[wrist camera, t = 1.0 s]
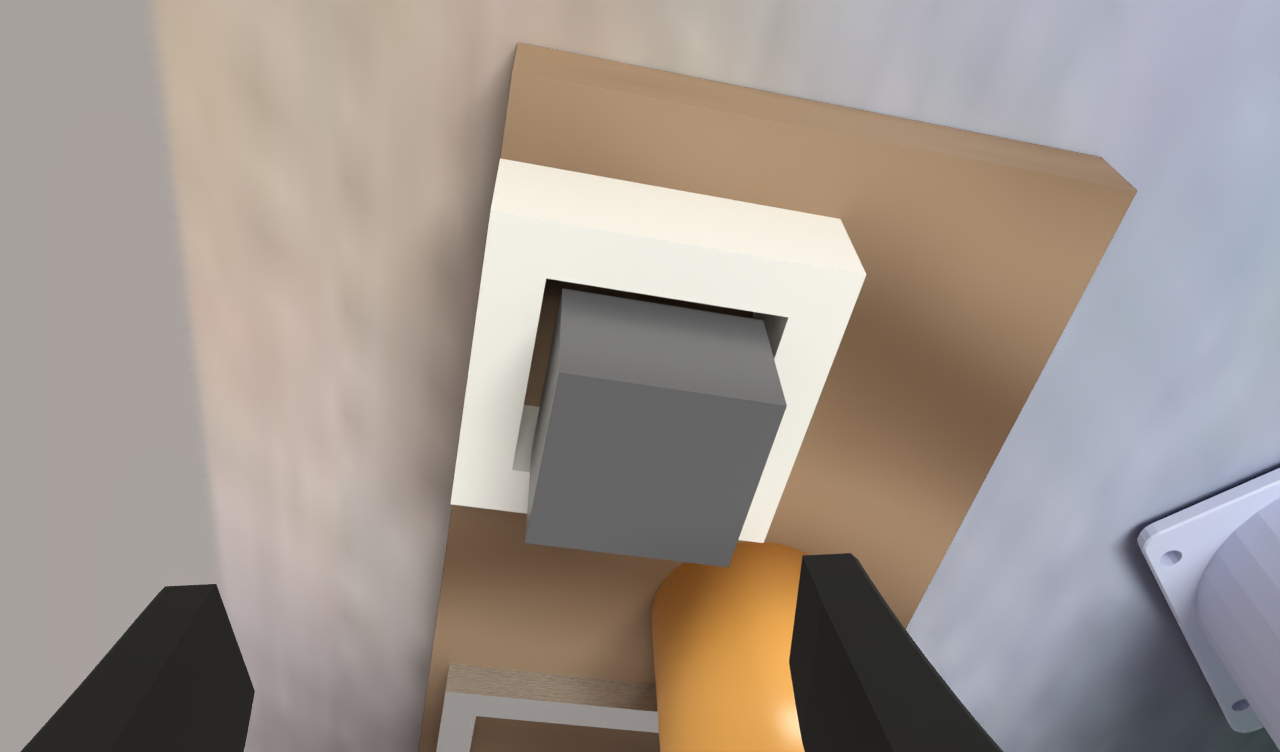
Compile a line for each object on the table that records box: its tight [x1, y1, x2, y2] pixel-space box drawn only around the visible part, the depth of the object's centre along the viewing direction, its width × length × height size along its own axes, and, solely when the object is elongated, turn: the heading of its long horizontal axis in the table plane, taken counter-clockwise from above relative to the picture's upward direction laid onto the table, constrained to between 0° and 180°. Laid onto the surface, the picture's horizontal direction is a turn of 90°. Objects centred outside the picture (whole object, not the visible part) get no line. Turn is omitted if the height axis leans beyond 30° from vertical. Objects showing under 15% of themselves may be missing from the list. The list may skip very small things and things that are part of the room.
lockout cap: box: [651, 542, 809, 752], centre depth 21 cm, size 4×4×5 cm
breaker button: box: [525, 288, 787, 567], centre depth 16 cm, size 3×3×2 cm
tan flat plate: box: [418, 43, 1137, 752], centre depth 24 cm, size 23×11×2 cm, turn 168°
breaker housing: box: [451, 158, 866, 543], centre depth 18 cm, size 6×6×2 cm
